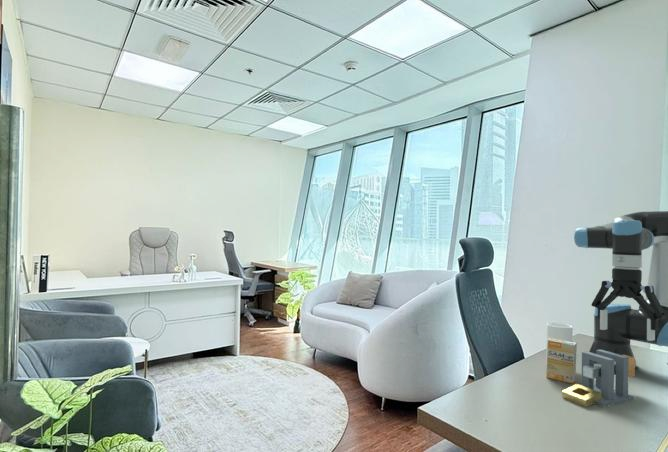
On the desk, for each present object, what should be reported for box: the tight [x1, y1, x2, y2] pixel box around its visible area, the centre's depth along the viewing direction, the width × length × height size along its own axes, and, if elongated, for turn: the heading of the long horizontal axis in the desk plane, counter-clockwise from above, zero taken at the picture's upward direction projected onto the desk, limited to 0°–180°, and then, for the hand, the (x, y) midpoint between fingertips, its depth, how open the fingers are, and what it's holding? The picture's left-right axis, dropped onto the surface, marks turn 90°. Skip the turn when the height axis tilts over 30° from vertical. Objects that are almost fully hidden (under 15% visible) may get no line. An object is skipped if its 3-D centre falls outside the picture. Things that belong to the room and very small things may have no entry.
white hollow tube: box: [545, 322, 574, 368], centre depth 140 cm, size 8×8×16 cm
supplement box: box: [545, 338, 578, 385], centre depth 129 cm, size 8×5×13 cm, turn 50°
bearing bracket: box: [579, 350, 635, 408], centre depth 115 cm, size 15×10×13 cm, turn 113°
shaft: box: [583, 355, 636, 380], centre depth 117 cm, size 20×3×6 cm, turn 113°
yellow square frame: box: [561, 383, 601, 408], centre depth 111 cm, size 2×7×7 cm
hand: (626, 334), depth 120 cm, fingers open, 13 cm apart
